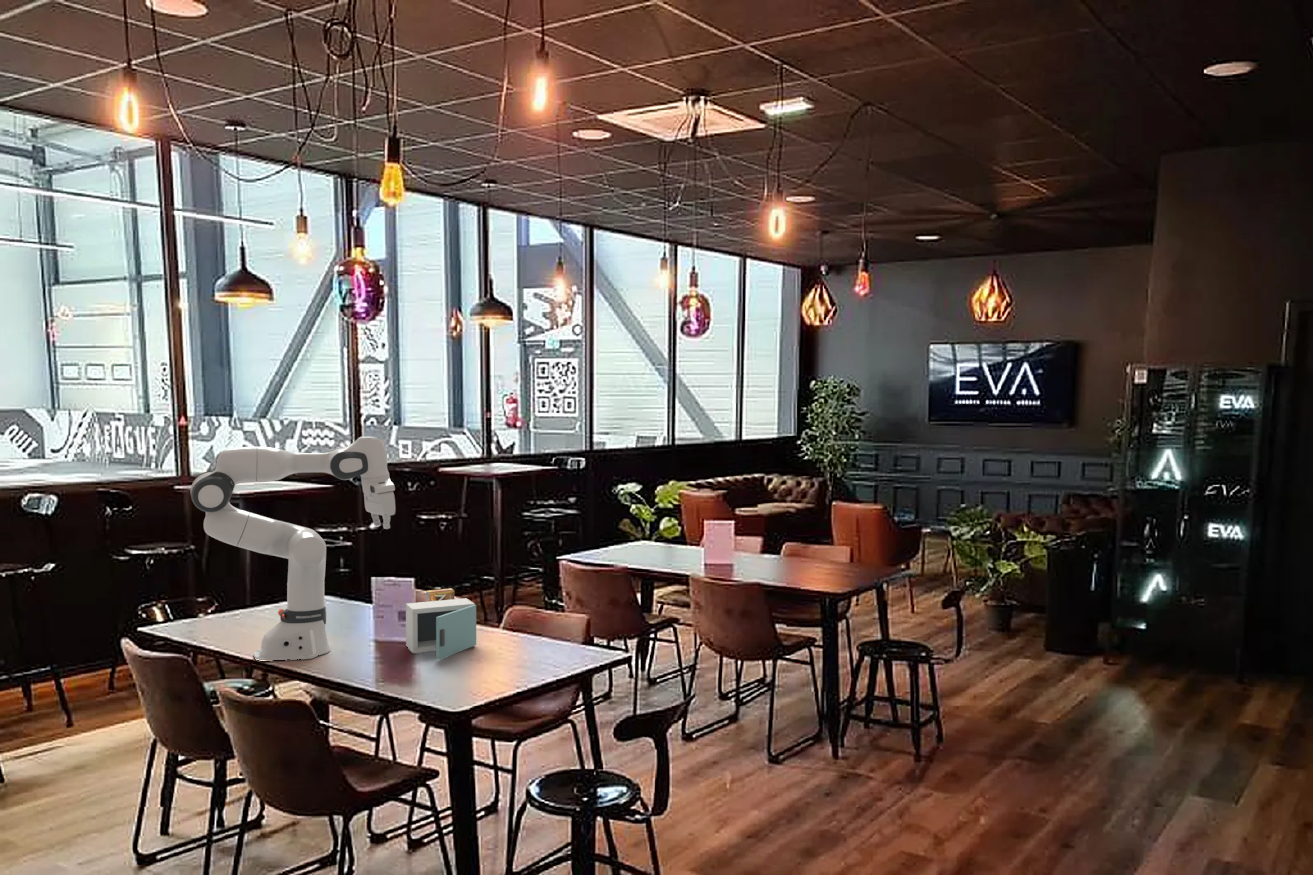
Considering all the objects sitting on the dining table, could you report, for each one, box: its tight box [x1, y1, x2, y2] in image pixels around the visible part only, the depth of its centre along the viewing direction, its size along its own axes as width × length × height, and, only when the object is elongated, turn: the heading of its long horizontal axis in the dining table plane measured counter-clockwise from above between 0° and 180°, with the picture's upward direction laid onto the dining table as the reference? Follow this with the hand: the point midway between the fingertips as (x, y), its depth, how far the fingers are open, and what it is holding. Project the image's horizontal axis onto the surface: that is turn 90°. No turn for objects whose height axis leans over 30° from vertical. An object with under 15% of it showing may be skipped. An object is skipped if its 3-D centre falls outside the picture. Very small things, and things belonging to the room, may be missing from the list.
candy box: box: [425, 588, 455, 602], centre depth 320 cm, size 9×4×15 cm, turn 121°
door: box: [435, 604, 477, 661], centre depth 294 cm, size 20×2×13 cm, turn 157°
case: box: [405, 597, 476, 654], centre depth 304 cm, size 20×10×14 cm, turn 117°
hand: (382, 527), depth 303 cm, fingers open, 8 cm apart
